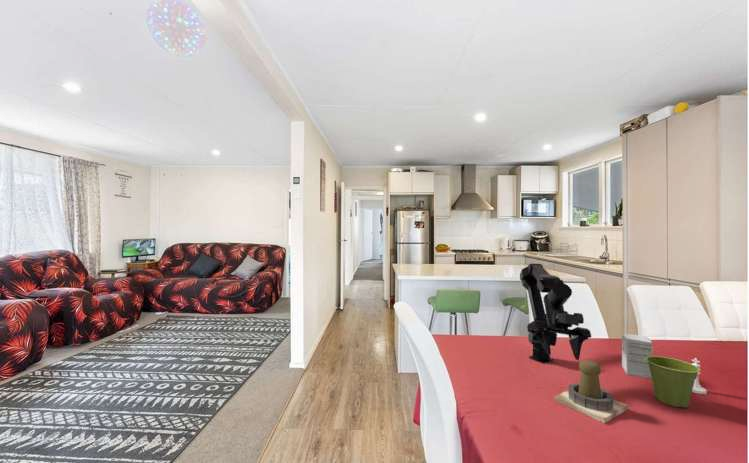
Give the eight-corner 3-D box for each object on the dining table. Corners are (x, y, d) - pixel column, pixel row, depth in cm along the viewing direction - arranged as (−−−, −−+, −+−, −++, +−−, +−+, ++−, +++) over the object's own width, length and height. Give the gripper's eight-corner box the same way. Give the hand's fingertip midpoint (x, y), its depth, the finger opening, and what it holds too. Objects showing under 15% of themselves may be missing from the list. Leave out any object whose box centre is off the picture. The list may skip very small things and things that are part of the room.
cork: (608, 404, 89) (608, 365, 90) (591, 407, 88) (591, 367, 88) (588, 394, 95) (588, 357, 95) (572, 396, 94) (572, 359, 94)
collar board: (578, 389, 100) (578, 378, 100) (627, 409, 89) (627, 396, 89) (554, 400, 94) (554, 387, 94) (604, 423, 83) (604, 408, 83)
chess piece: (703, 395, 98) (703, 362, 98) (682, 388, 102) (682, 357, 102) (709, 391, 100) (709, 359, 100) (688, 385, 104) (688, 354, 104)
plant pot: (707, 417, 85) (707, 375, 86) (649, 405, 92) (649, 365, 92) (693, 398, 95) (693, 360, 96) (641, 388, 102) (641, 352, 102)
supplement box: (621, 366, 118) (621, 332, 118) (647, 371, 115) (647, 335, 115) (625, 374, 112) (625, 338, 112) (653, 379, 108) (653, 341, 108)
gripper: (541, 297, 104) (549, 346, 95) (597, 306, 104) (610, 356, 95) (523, 308, 113) (529, 354, 104) (575, 317, 113) (585, 364, 105)
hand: (563, 357), depth 102 cm, fingers open, 9 cm apart
